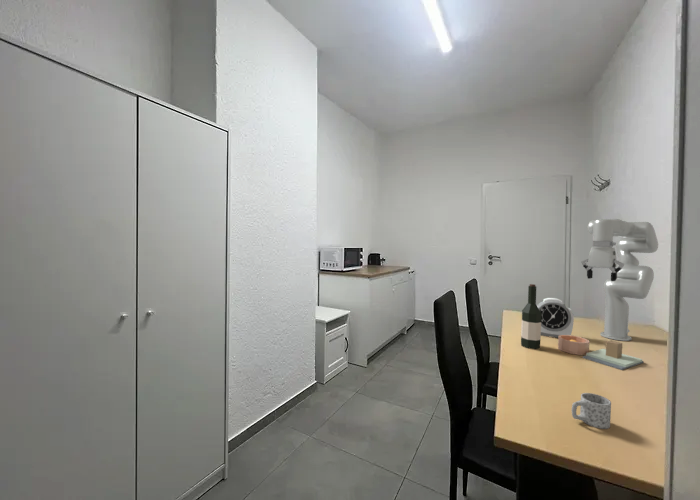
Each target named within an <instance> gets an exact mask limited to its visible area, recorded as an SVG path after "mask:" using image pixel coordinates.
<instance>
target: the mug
mask: <svg viewBox="0 0 700 500" xmlns="http://www.w3.org/2000/svg"><path fill="white" fill-rule="evenodd" d="M571 405H572V406H571V416H572V418H573V419H574V420H579V421H582V422H583V423H585V424H586V425H588V426H590V427H593V428H597V429H599V430H608V429H610V428H611V418H612V416H611V415H612V414H611V412H612V401H611V400H609V398H606V397H605V396H602V395H600V394H596V393H593V392H592V393H591V392H584V393H581V394H580V400H577V401H575V402H572V404H571ZM579 406H580V414H577V409H578V407H579Z"/></svg>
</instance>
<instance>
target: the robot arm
mask: <svg viewBox="0 0 700 500" xmlns="http://www.w3.org/2000/svg"><path fill="white" fill-rule="evenodd" d="M587 232H588V233H589V234H591V235H592V247H590V251H589V254H588V258H587V259H584V260H582V261H581V264H582V267H583V268H584V269H585V270H586V277H587V279H593V272H594V271H593V269H594V268H597V269H599V268H601V269H609V270H610V271H611V272H610V278H607V279H606V280H605V281H604V283H603V289H604V290H603V291H604V295H605V296H604V299H605V305H604V309H605V310H604V324H603V325H604V326H603V327H604V328H603V329H604V330H603V331H601V332H600V336H601V337H603V338H606V339H609V340H613V341H623V342H625V341H626V342H629V341H632V337H631V336H630V335H628V333H630V329H629V313H630V312H629V311H630V305H629V303H628V301H627V300H626V299H625V298H628V299H636V300H644V299H646V298H647V296H648V294H649V292H650V290H651V287H652V285H653V281H654V278H655V272H654V269H653V268H652V267H650V266H648V265H639V264H640V261H639V259H638V258H637V257H636V256H635V255H634V254H633V253H635V254H637V253H638V254H651V253H652V254H653V253H655V252H657V250H659V249H658V248H659V241H658V238H657V235H656V231H655V228H654V225H653V224H652V223H651V222H648V221H634V222H633V221H625V220H622V219H619V218H610V219H609V218H604V219H603V218H601V219H592V220H590V221H589V222H588V224H587ZM616 237H617V238H619V239H617V241H616V242H614V241H613V238H616ZM614 246H616V247H614ZM617 258H618V260H617ZM587 263H588V264H587Z"/></svg>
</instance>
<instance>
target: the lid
mask: <svg viewBox="0 0 700 500" xmlns="http://www.w3.org/2000/svg"><path fill="white" fill-rule="evenodd" d="M605 343H606V344H605V348H601V349H596V350H594V351H593V350H592V351H589V353H586V355H587V356H590V357H593V358H597V359H600V360H603V361H607V362H610V363H613V364H616V365H620V366H623V367H628V366H631V365H634V364H637V363H640V362H642V361H643V359H642V358H640V357H635V356H632V355H629V354H625V353H623V342H620V341H617V340H613V339H610V340H607V341H606V342H605ZM586 355H585V356H586Z"/></svg>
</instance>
